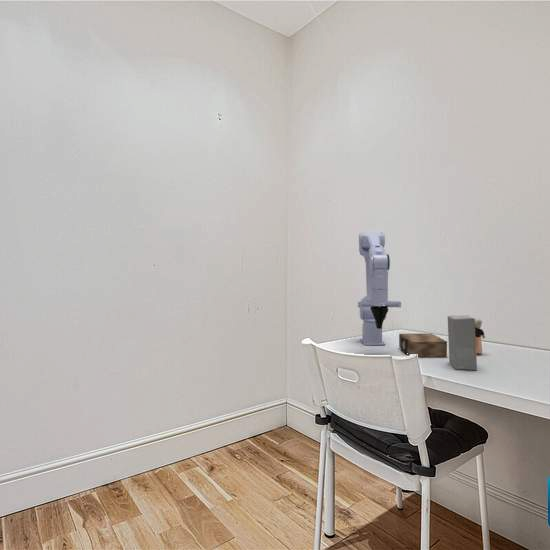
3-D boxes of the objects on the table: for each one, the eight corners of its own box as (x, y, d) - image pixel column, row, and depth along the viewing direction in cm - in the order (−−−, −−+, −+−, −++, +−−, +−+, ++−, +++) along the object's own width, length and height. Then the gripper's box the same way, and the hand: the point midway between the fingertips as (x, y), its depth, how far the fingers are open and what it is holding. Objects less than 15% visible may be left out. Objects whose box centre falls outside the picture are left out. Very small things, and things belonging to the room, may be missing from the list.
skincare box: (477, 370, 123) (478, 318, 123) (452, 369, 125) (453, 318, 124) (469, 363, 132) (470, 314, 131) (446, 362, 133) (446, 313, 132)
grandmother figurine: (475, 357, 140) (475, 320, 139) (464, 354, 143) (465, 318, 142) (488, 353, 144) (489, 317, 143) (477, 351, 147) (478, 316, 146)
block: (409, 357, 139) (409, 341, 139) (397, 347, 153) (397, 333, 153) (446, 357, 139) (447, 341, 139) (431, 347, 153) (431, 333, 153)
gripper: (360, 290, 138) (360, 330, 139) (403, 290, 138) (403, 330, 139) (356, 288, 145) (356, 326, 146) (397, 288, 145) (397, 326, 146)
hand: (379, 328), depth 143 cm, fingers closed
